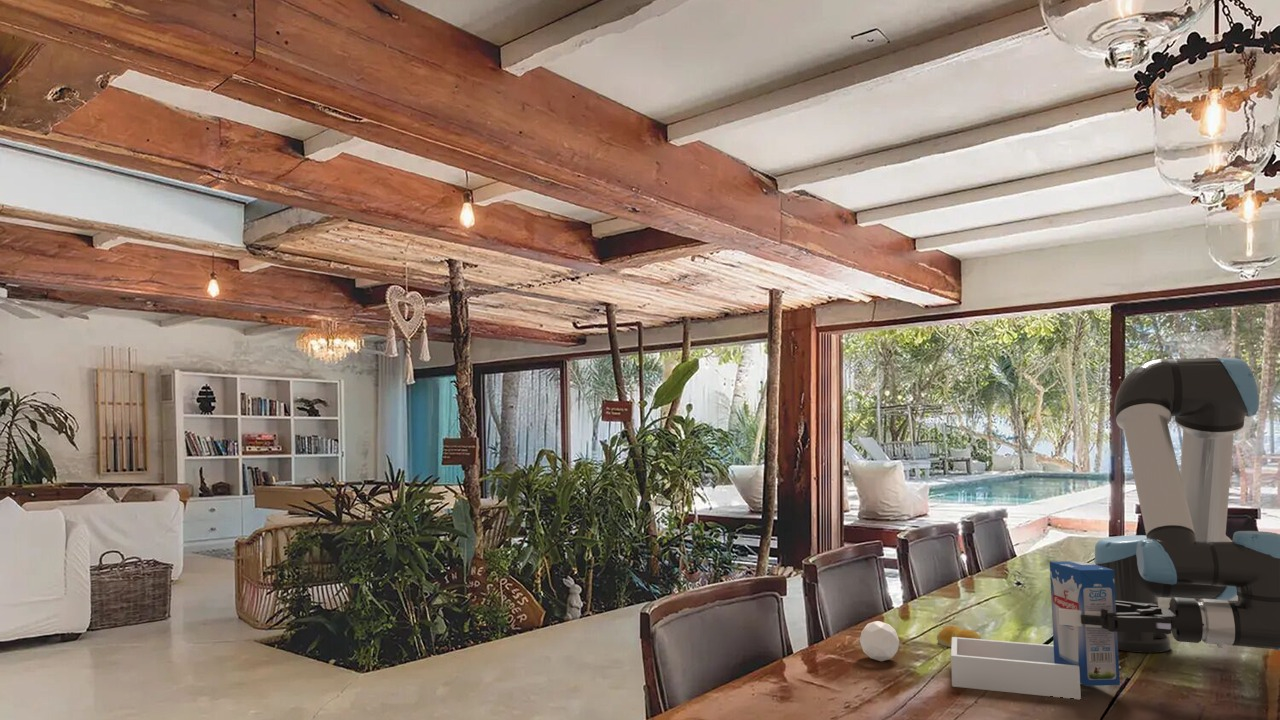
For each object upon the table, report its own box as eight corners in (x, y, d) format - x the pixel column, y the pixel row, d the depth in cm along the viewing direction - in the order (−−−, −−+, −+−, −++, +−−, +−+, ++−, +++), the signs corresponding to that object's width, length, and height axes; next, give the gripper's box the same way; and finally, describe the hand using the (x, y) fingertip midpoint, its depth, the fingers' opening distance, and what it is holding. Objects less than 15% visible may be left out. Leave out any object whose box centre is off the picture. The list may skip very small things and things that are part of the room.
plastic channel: (1070, 676, 157) (1068, 646, 157) (1080, 699, 143) (1079, 667, 144) (952, 664, 165) (951, 636, 165) (952, 686, 151) (950, 655, 151)
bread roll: (971, 653, 174) (970, 633, 175) (932, 645, 181) (931, 626, 181) (989, 646, 180) (989, 627, 180) (951, 638, 186) (950, 620, 187)
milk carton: (1054, 669, 154) (1049, 561, 156) (1086, 669, 154) (1081, 561, 156) (1086, 686, 144) (1080, 570, 146) (1120, 685, 144) (1114, 569, 146)
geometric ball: (886, 676, 166) (890, 650, 162) (851, 655, 171) (853, 629, 167) (904, 651, 171) (908, 625, 167) (869, 632, 176) (872, 606, 172)
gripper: (1218, 659, 133) (1063, 646, 141) (1185, 628, 154) (1052, 618, 162) (1215, 611, 134) (1061, 601, 142) (1182, 587, 154) (1050, 580, 163)
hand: (1056, 610), depth 152 cm, fingers closed on milk carton, 10 cm apart
